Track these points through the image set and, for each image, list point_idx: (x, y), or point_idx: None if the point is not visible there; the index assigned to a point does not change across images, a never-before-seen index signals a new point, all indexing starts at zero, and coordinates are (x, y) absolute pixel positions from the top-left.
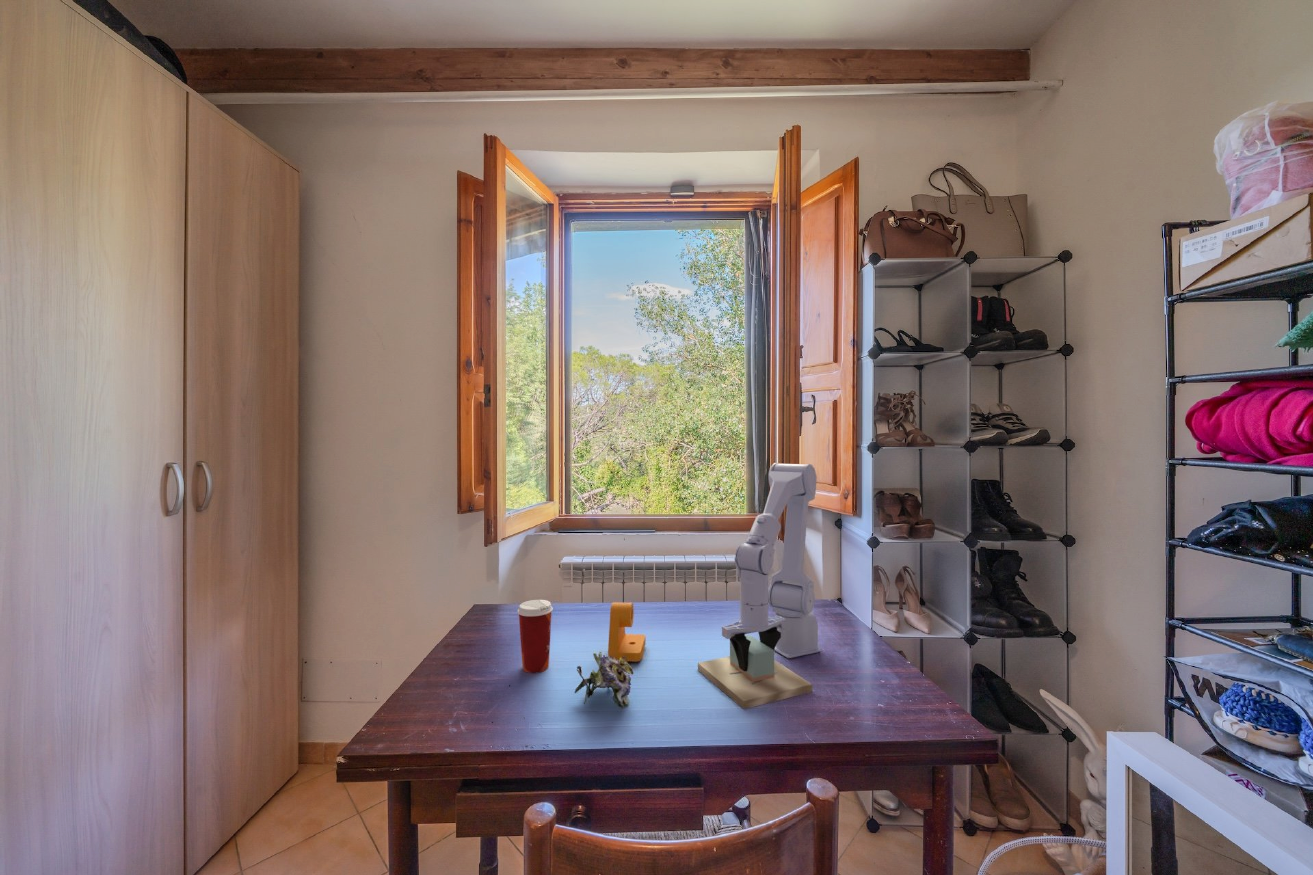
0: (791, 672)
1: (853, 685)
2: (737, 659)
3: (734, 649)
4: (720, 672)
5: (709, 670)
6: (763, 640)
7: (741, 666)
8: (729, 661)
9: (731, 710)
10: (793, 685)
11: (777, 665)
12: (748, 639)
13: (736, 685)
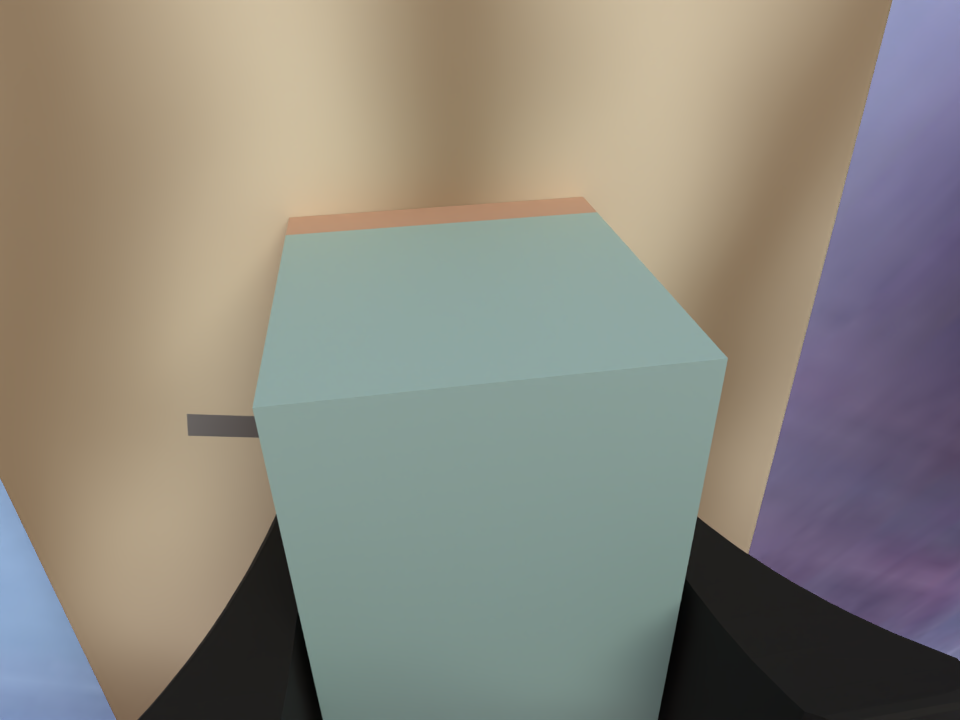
0: (738, 527)
1: (953, 614)
2: (265, 538)
3: (204, 643)
4: (85, 371)
5: None
6: (697, 684)
7: None
8: (317, 138)
9: (59, 711)
10: None
11: (742, 400)
12: (574, 515)
13: (169, 607)
